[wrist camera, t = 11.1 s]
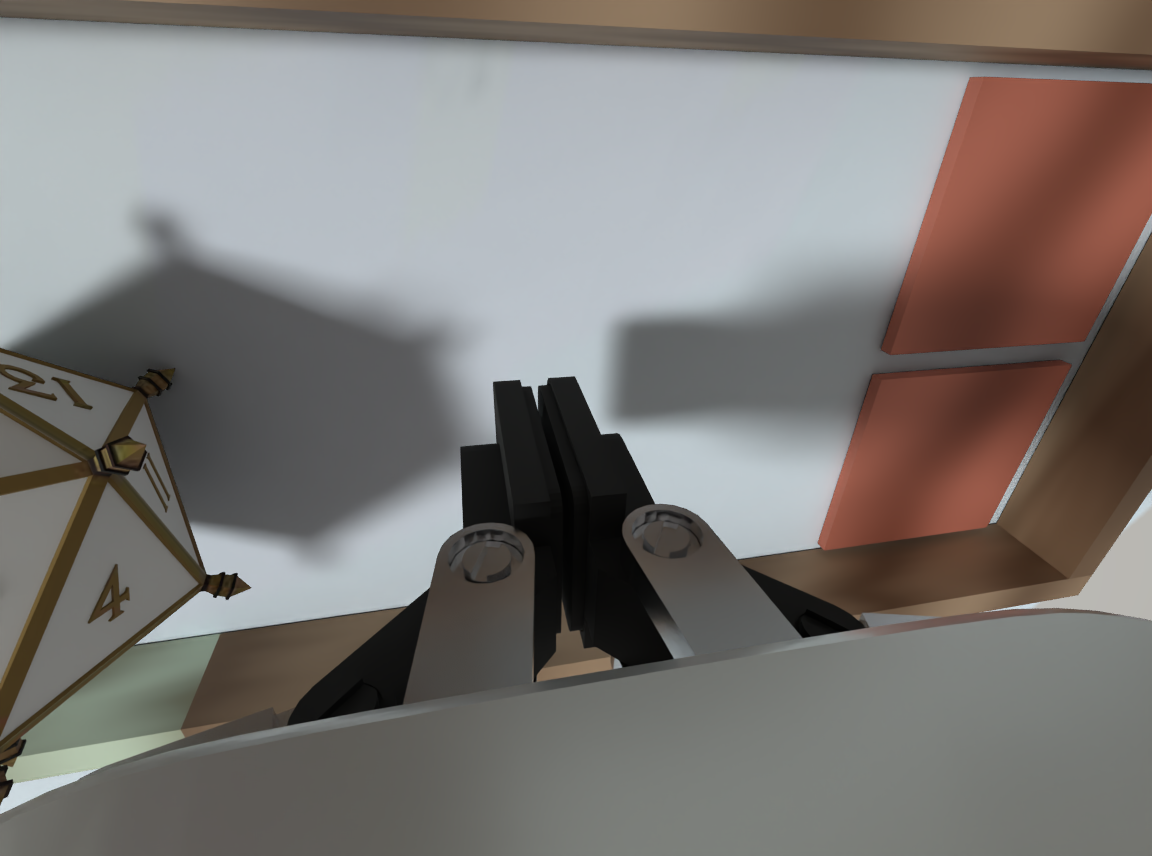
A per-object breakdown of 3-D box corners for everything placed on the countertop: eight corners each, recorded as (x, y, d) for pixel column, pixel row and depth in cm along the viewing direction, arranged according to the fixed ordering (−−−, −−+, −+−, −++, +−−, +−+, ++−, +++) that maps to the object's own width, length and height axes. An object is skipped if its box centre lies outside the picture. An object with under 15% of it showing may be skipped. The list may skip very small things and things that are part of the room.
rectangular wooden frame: (1291, 28, 14) (1482, 12, 11) (1006, 539, 22) (1078, 595, 20) (-1257, -147, 6) (-2383, -310, 4) (-212, 720, 15) (-344, 846, 12)
